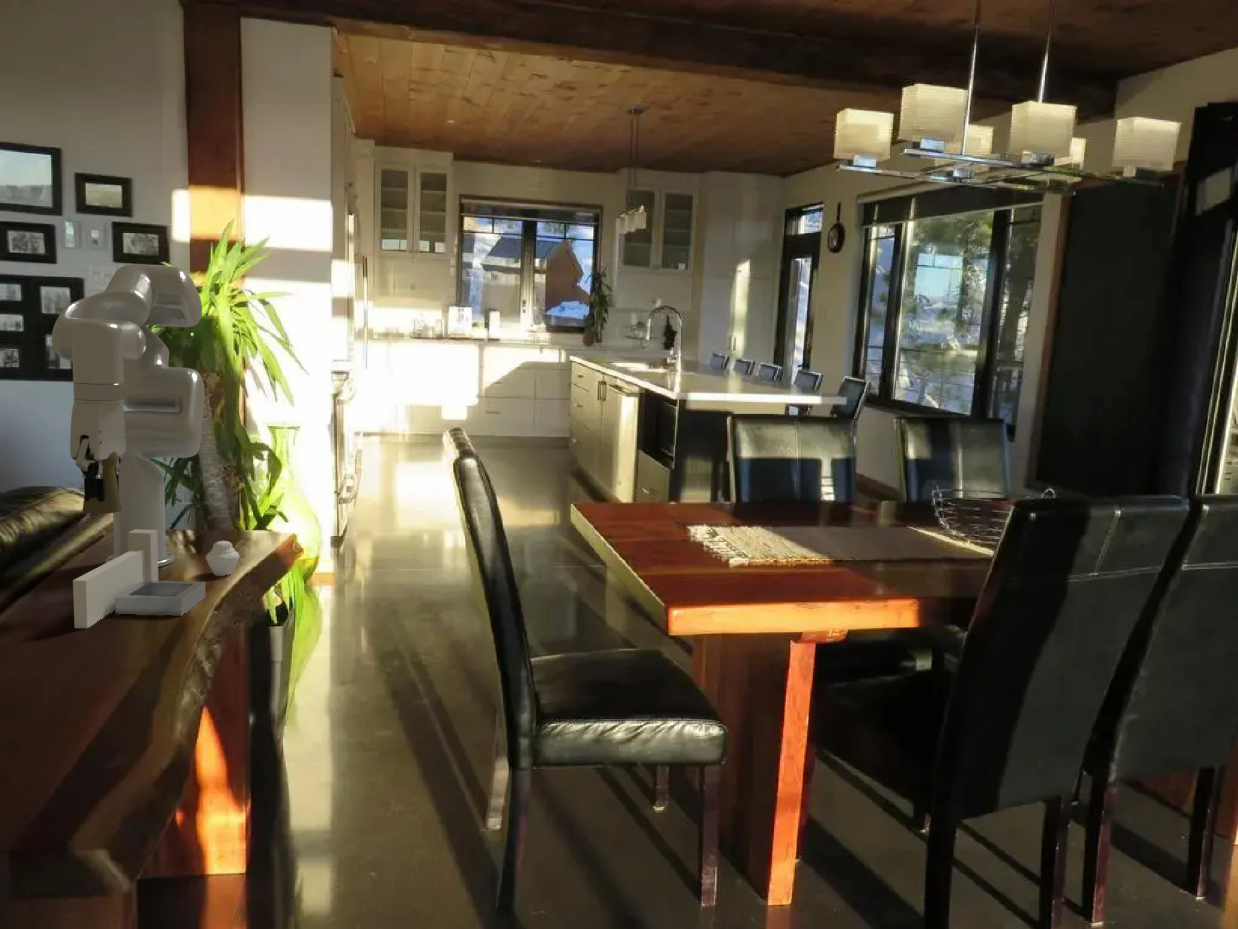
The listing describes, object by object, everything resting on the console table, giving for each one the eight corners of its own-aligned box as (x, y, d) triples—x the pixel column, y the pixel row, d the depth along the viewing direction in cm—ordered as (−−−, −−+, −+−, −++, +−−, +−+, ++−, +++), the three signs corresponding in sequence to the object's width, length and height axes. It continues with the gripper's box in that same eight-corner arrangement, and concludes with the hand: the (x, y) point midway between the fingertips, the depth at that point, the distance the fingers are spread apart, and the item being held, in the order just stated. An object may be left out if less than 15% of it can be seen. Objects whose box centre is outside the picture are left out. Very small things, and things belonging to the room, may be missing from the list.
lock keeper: (143, 596, 166) (143, 580, 166) (205, 597, 167) (205, 581, 167) (115, 614, 155) (114, 597, 155) (181, 615, 156) (181, 599, 156)
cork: (103, 515, 154) (101, 451, 153) (73, 511, 156) (71, 448, 154) (130, 509, 160) (128, 447, 158) (101, 505, 161) (99, 444, 160)
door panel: (136, 585, 172) (135, 529, 171) (158, 586, 172) (157, 529, 171) (68, 627, 147) (65, 562, 146) (93, 628, 148) (91, 562, 146)
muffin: (241, 569, 187) (241, 536, 186) (237, 577, 181) (237, 543, 180) (208, 570, 185) (208, 537, 184) (203, 578, 179) (203, 544, 178)
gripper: (102, 389, 163) (105, 489, 166) (48, 395, 147) (52, 506, 149) (144, 391, 163) (147, 491, 166) (95, 397, 147) (98, 508, 149)
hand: (102, 497), depth 157 cm, fingers closed on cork, 3 cm apart
